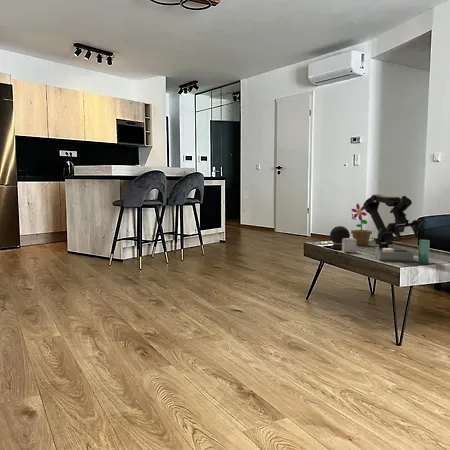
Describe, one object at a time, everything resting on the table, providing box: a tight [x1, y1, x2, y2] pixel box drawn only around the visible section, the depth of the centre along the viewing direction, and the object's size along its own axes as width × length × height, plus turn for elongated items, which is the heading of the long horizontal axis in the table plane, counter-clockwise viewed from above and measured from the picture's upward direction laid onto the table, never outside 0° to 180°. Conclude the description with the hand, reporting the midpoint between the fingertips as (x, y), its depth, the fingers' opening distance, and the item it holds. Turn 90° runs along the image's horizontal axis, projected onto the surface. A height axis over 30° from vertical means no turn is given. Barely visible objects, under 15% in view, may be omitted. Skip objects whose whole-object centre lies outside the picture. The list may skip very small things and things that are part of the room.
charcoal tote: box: [374, 248, 414, 263], centre depth 239 cm, size 14×18×5 cm
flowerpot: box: [350, 203, 373, 247], centre depth 301 cm, size 14×14×30 cm
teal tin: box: [417, 239, 431, 265], centre depth 227 cm, size 5×5×12 cm
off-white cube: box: [382, 247, 395, 252], centre depth 239 cm, size 5×5×5 cm
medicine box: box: [341, 237, 357, 254], centre depth 266 cm, size 8×4×9 cm, turn 92°
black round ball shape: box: [329, 225, 351, 250], centre depth 285 cm, size 13×13×15 cm
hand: (408, 238), depth 234 cm, fingers open, 9 cm apart
